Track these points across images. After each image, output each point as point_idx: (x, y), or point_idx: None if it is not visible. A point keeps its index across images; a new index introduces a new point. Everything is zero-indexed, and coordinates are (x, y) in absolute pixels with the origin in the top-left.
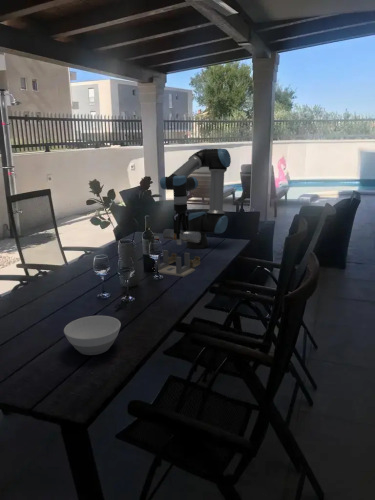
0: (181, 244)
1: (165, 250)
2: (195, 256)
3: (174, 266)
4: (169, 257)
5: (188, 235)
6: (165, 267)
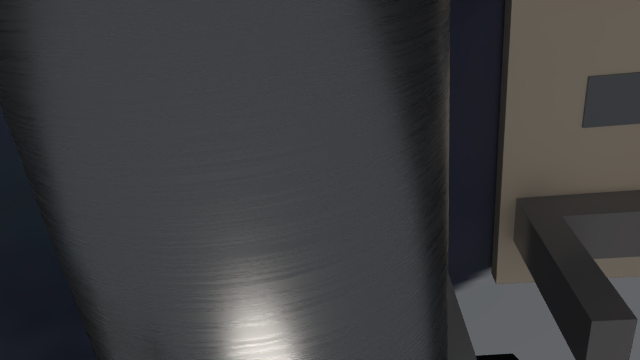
0: None
1: (609, 348)
2: None
3: (519, 125)
4: None
5: (442, 194)
6: (596, 187)
